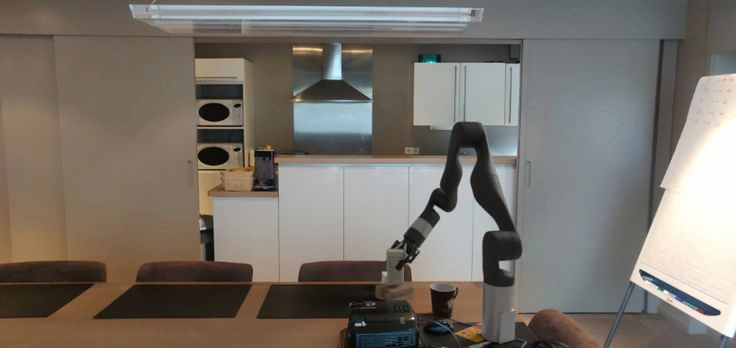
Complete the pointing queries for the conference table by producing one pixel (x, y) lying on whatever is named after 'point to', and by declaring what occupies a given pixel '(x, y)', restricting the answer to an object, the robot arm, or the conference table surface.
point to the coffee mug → (442, 299)
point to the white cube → (384, 277)
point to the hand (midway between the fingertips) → (391, 267)
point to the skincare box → (392, 260)
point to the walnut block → (394, 291)
